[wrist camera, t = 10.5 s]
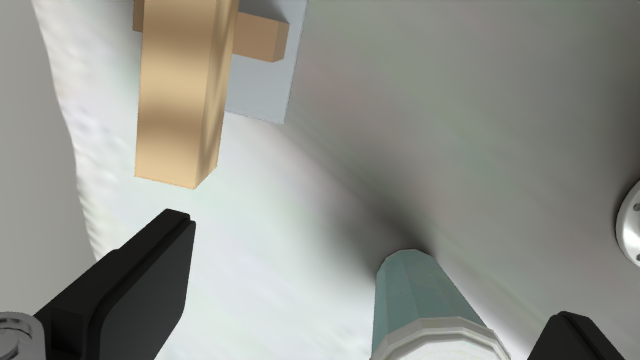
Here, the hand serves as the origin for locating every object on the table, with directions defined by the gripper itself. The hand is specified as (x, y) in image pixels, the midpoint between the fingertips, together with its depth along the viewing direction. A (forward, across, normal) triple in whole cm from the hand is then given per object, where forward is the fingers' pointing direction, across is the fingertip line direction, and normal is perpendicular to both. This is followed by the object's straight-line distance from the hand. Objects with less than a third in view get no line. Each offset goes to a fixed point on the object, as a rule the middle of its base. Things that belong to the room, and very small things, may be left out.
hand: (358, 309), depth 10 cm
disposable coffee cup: (+28, -10, +15) cm, 33 cm away
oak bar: (+20, +12, -5) cm, 24 cm away
